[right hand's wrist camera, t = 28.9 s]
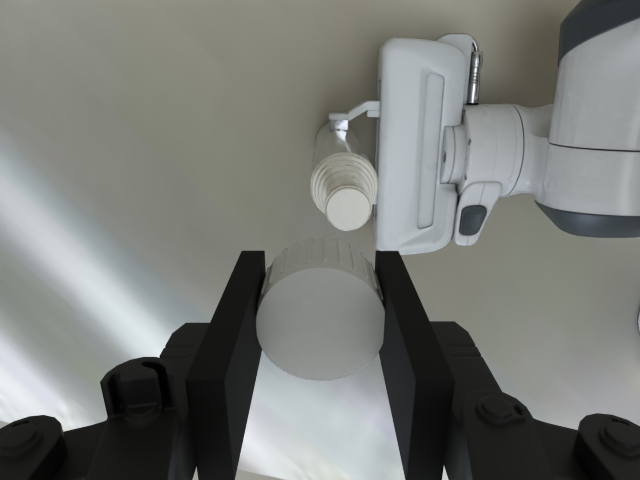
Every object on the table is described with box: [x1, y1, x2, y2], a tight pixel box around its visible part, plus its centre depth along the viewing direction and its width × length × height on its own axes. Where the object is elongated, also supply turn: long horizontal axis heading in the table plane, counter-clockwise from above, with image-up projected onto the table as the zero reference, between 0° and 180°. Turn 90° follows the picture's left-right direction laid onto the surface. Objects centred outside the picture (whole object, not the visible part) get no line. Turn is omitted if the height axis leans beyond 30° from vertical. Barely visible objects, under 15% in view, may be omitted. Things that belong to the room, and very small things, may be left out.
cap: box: [256, 237, 385, 381], centre depth 14 cm, size 4×4×2 cm
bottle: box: [310, 123, 378, 231], centre depth 36 cm, size 5×5×25 cm
